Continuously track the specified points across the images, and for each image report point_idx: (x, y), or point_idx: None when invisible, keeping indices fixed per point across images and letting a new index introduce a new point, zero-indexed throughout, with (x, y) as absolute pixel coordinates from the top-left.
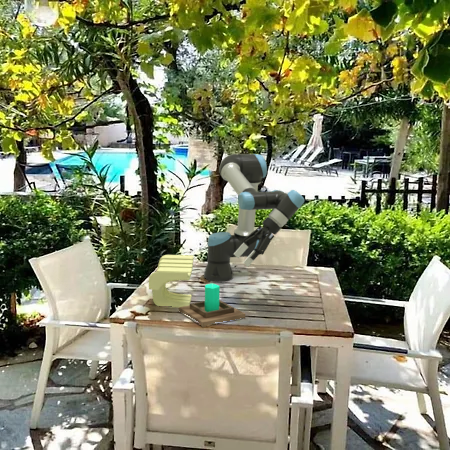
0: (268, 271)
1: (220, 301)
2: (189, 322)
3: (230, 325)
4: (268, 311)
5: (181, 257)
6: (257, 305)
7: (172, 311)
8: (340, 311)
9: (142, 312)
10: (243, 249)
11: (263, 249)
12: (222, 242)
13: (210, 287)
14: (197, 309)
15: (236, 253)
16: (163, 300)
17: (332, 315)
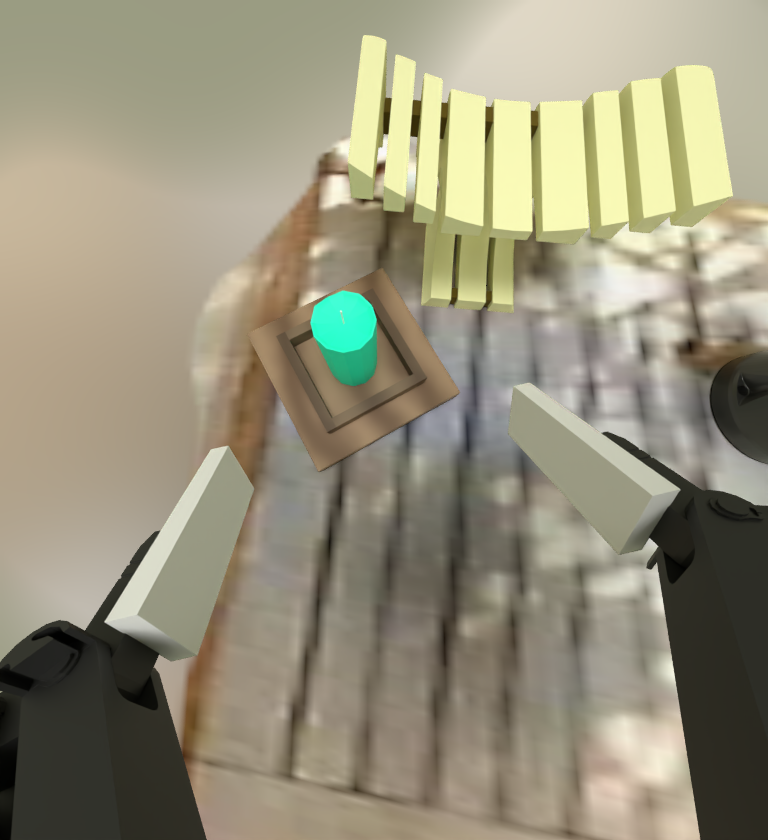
0: None
1: (396, 387)
2: (295, 306)
3: (263, 419)
4: (387, 561)
5: (696, 147)
6: (449, 528)
7: (386, 261)
8: None
9: (377, 188)
10: (573, 481)
11: None
12: None
13: (336, 315)
14: None
15: (524, 408)
16: (436, 222)
17: (341, 831)
